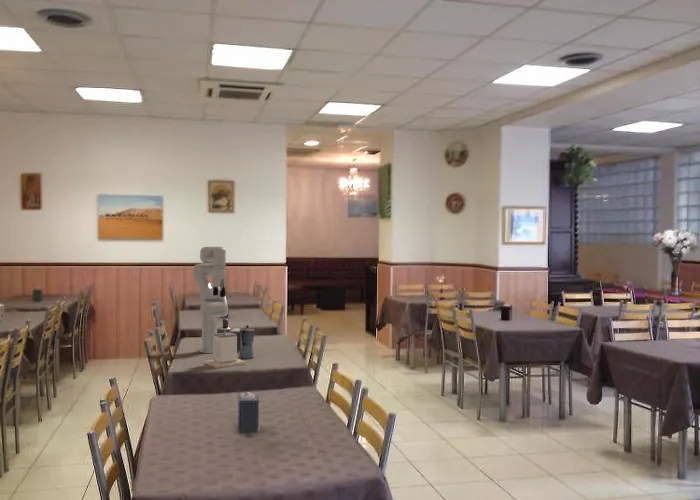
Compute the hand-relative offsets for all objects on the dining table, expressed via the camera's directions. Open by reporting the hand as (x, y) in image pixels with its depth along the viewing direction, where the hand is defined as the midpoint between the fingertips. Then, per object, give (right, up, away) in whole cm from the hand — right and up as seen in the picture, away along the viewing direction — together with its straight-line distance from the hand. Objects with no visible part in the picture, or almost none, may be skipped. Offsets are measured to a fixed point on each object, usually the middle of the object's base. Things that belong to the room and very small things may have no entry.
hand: (219, 296), depth 397 cm
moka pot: (+16, -39, +5) cm, 42 cm away
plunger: (+6, -36, -13) cm, 39 cm away
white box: (+6, -39, -12) cm, 41 cm away
